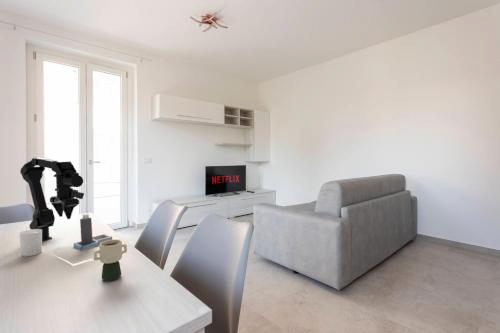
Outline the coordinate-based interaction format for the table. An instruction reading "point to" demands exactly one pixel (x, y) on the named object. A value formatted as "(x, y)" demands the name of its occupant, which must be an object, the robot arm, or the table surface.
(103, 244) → the beige and green cup
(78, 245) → the divided tray
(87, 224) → the gray bottle
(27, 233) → the white cup
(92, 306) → the table surface
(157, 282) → the table surface
